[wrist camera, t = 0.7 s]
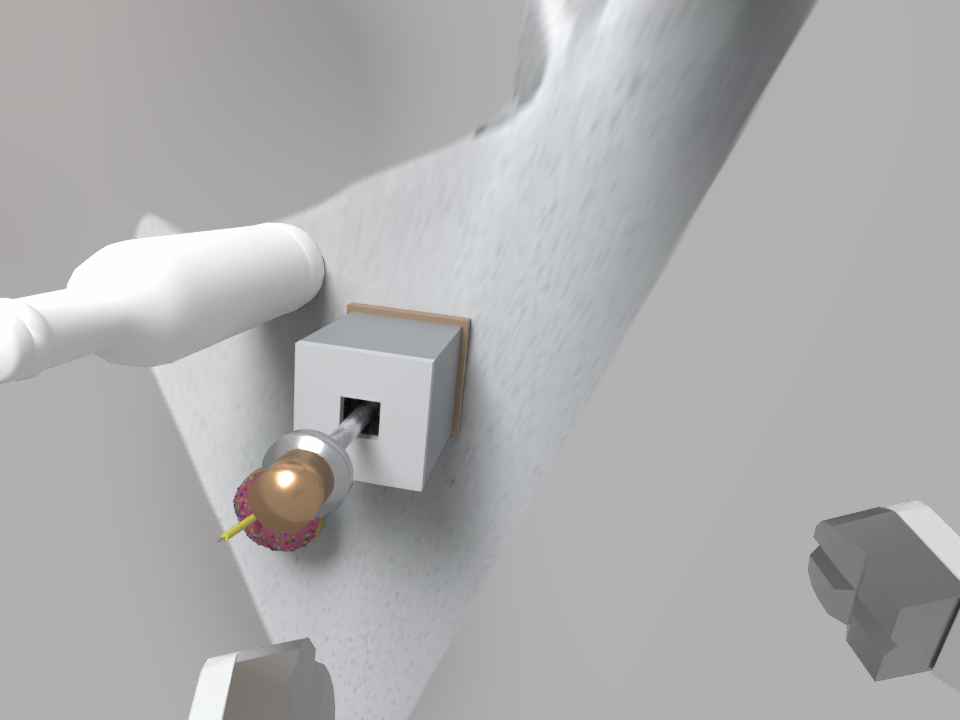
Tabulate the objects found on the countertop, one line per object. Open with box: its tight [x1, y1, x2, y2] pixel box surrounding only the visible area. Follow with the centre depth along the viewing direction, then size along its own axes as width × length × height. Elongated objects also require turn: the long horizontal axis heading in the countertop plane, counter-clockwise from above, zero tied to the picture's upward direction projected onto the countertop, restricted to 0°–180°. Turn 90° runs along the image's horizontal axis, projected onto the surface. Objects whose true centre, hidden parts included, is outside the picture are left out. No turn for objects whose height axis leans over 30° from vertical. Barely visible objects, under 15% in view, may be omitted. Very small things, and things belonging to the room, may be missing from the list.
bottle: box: [0, 223, 325, 384], centre depth 42 cm, size 8×8×30 cm
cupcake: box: [216, 468, 324, 552], centre depth 56 cm, size 9×8×12 cm
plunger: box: [249, 397, 381, 533], centre depth 41 cm, size 8×8×18 cm
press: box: [293, 303, 471, 492], centre depth 51 cm, size 11×11×13 cm
